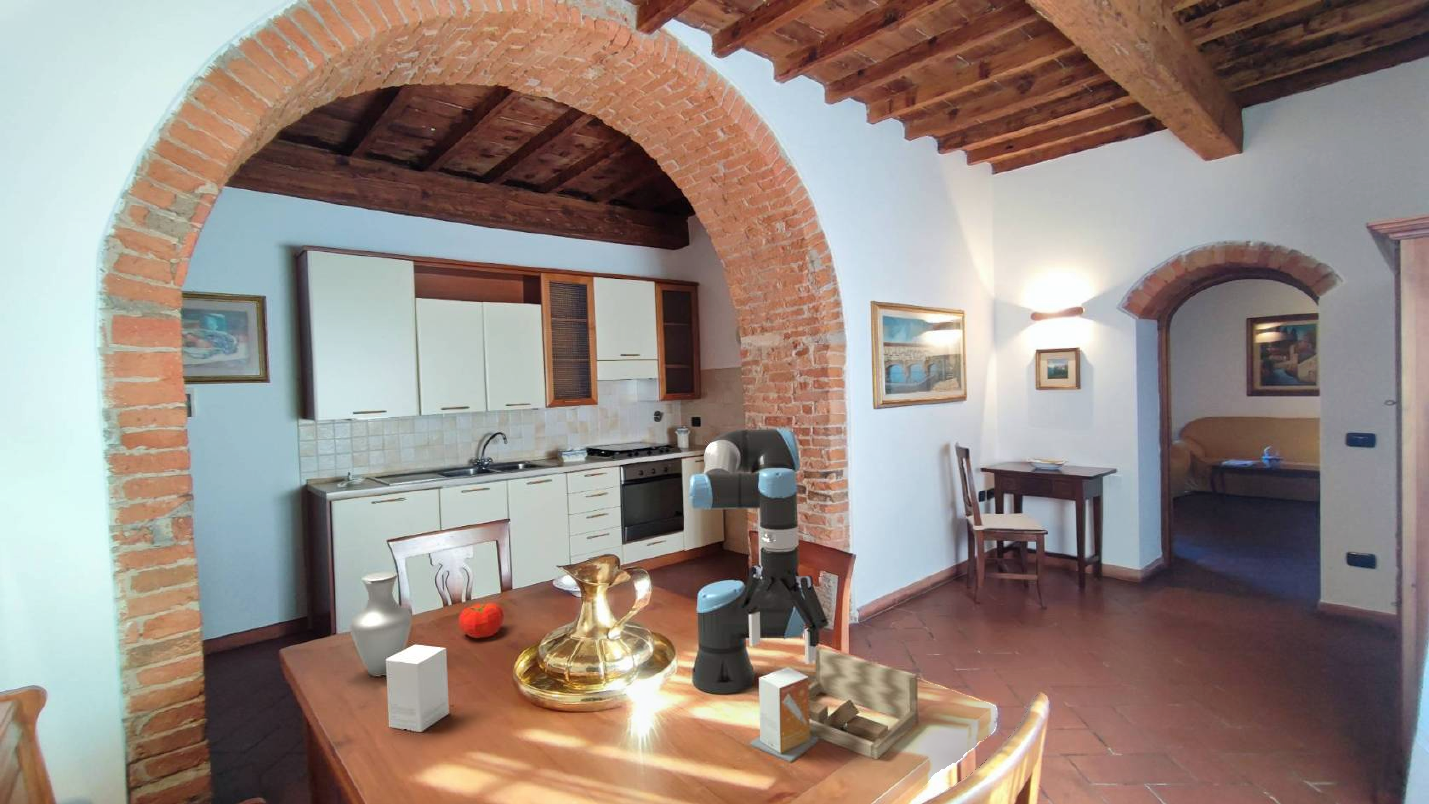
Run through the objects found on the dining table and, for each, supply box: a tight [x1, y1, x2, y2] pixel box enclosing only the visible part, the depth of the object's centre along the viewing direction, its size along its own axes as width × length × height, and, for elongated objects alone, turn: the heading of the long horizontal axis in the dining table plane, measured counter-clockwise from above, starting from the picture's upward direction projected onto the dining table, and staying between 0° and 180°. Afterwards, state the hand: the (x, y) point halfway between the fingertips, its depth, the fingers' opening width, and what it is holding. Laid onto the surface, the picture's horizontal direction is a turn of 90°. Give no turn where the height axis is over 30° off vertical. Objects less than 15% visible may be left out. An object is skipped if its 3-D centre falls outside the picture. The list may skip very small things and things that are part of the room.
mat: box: [748, 734, 820, 763], centre depth 134 cm, size 10×10×1 cm
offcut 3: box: [846, 714, 889, 743], centre depth 134 cm, size 7×4×4 cm, turn 49°
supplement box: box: [386, 644, 450, 733], centre depth 147 cm, size 9×9×15 cm
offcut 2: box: [823, 699, 860, 730], centre depth 137 cm, size 6×4×3 cm
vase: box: [349, 571, 413, 675], centre depth 173 cm, size 14×14×25 cm
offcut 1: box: [809, 699, 829, 725], centre depth 143 cm, size 7×4×4 cm, turn 52°
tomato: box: [458, 602, 504, 639], centre depth 197 cm, size 14×13×9 cm
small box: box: [758, 666, 811, 753], centre depth 134 cm, size 8×6×13 cm
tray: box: [809, 646, 919, 761], centre depth 142 cm, size 24×18×10 cm
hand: (781, 652), depth 134 cm, fingers open, 13 cm apart
